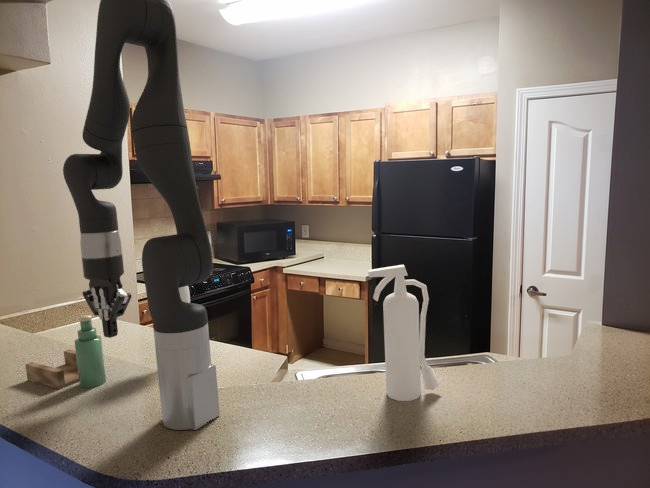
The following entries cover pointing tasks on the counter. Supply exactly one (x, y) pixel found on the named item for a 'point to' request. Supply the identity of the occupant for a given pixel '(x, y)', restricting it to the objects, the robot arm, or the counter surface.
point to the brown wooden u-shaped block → (55, 372)
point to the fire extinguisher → (404, 336)
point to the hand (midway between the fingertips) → (110, 336)
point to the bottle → (89, 355)
